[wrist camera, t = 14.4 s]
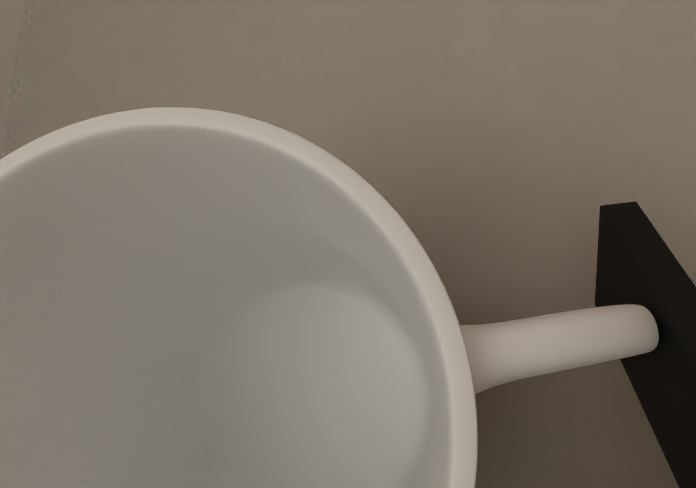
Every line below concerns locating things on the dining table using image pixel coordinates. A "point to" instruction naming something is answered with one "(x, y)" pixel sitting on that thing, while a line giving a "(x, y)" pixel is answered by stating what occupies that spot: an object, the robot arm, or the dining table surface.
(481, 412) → the dining table surface
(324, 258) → the mug
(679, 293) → the robot arm
